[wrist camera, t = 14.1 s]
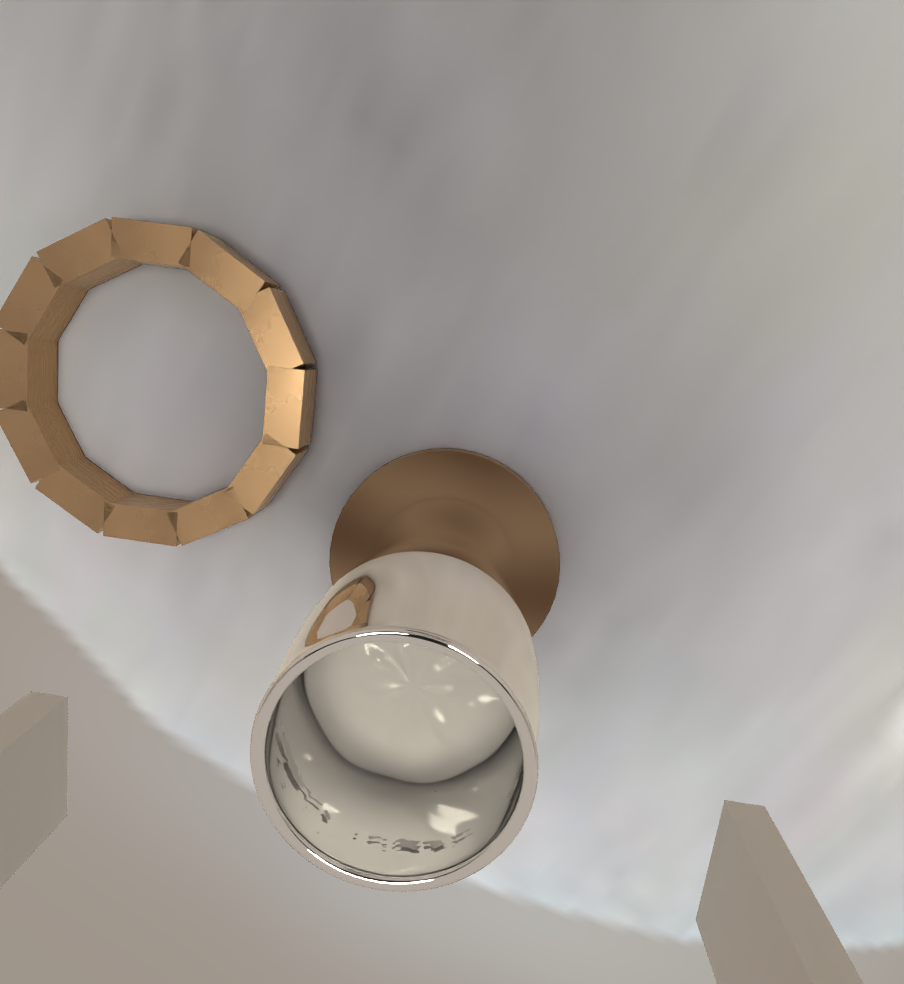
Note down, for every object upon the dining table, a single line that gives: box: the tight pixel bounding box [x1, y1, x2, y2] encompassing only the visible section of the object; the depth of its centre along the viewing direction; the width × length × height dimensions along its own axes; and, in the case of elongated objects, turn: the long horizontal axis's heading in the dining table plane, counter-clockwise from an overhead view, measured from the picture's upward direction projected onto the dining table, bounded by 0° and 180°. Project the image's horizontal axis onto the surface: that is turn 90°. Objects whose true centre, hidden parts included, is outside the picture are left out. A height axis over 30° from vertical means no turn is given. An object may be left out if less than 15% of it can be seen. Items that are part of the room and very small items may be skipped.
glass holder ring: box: [0, 217, 317, 546], centre depth 30 cm, size 13×13×2 cm
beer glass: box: [250, 498, 540, 892], centre depth 23 cm, size 7×7×15 cm
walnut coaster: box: [330, 448, 560, 637], centre depth 31 cm, size 10×10×1 cm
